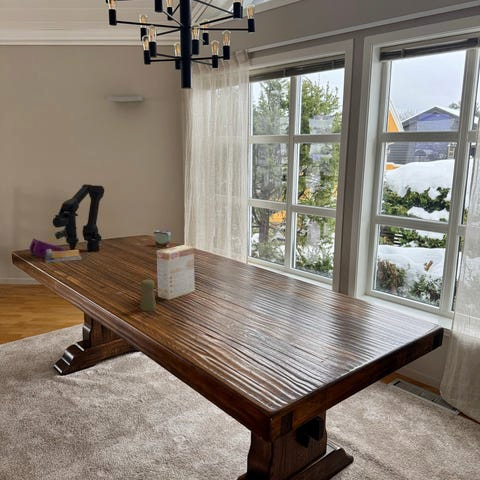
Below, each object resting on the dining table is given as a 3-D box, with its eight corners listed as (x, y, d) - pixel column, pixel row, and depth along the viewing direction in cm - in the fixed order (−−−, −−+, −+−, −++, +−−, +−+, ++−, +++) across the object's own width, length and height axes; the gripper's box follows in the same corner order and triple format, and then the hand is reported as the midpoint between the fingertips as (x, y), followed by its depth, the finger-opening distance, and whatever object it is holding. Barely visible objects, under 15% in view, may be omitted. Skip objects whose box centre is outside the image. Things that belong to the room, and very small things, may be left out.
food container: (175, 246, 276) (174, 231, 274) (168, 248, 271) (168, 232, 269) (160, 244, 282) (160, 229, 280) (153, 246, 277) (153, 230, 275)
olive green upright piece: (157, 305, 169) (156, 278, 167) (155, 310, 163) (154, 282, 161) (141, 305, 169) (140, 278, 167) (138, 310, 163) (137, 282, 161)
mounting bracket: (57, 261, 260) (27, 252, 248) (63, 248, 261) (33, 238, 249) (63, 264, 253) (32, 255, 241) (68, 250, 254) (38, 241, 242)
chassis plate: (78, 254, 253) (78, 251, 253) (81, 259, 240) (81, 257, 240) (44, 257, 245) (44, 254, 245) (45, 262, 233) (45, 260, 232)
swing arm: (78, 255, 245) (78, 246, 244) (79, 256, 242) (78, 247, 241) (46, 258, 238) (45, 249, 237) (46, 259, 235) (45, 250, 234)
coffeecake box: (183, 288, 191) (183, 244, 187) (195, 291, 187) (194, 246, 183) (157, 296, 180) (155, 250, 176) (168, 300, 175) (167, 252, 172)
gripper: (54, 223, 247) (56, 250, 250) (55, 228, 230) (57, 257, 233) (75, 222, 251) (76, 248, 254) (77, 227, 235) (79, 255, 238)
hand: (72, 252), depth 245 cm, fingers closed
